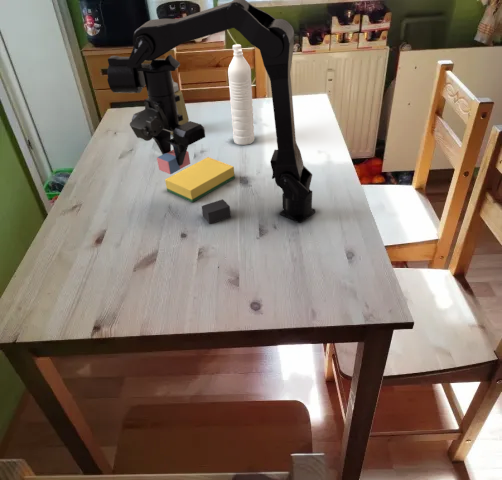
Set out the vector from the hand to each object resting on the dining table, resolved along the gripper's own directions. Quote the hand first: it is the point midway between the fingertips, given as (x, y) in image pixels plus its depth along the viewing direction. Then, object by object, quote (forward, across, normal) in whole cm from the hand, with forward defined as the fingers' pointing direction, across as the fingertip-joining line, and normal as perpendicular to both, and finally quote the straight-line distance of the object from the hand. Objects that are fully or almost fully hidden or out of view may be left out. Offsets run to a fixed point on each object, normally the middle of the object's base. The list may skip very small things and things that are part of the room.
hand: (174, 162), depth 110 cm
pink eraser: (+1, 0, 0) cm, 1 cm away
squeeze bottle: (+12, -36, +32) cm, 50 cm away
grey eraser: (+12, +10, +2) cm, 16 cm away
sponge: (+12, -4, +11) cm, 17 cm away
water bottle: (+12, -14, +39) cm, 43 cm away
